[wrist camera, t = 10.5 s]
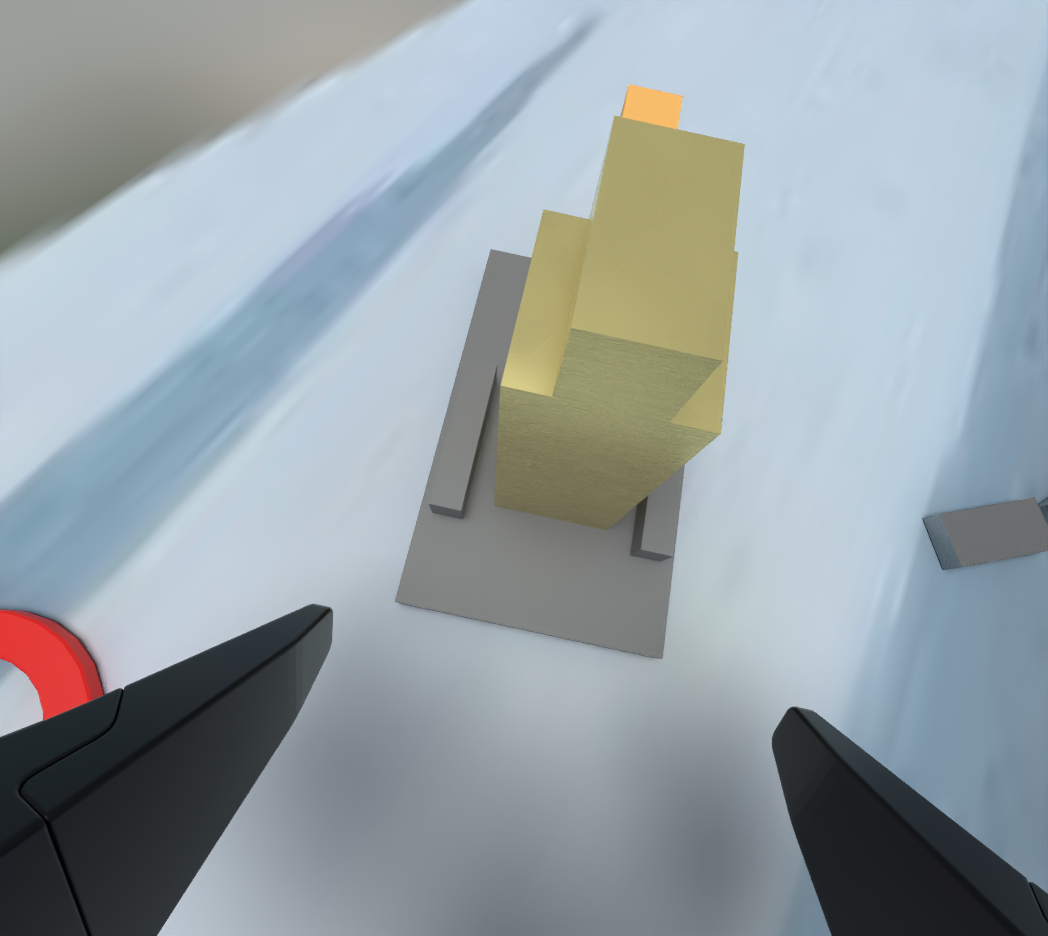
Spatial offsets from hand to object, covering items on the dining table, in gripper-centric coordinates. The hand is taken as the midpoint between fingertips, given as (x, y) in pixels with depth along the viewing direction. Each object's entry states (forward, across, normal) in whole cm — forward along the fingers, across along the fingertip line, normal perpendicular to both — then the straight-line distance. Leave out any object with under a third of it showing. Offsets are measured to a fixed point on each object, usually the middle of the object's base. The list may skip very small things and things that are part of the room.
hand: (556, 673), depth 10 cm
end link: (+12, 0, -1) cm, 12 cm away
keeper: (+13, 0, -1) cm, 13 cm away
